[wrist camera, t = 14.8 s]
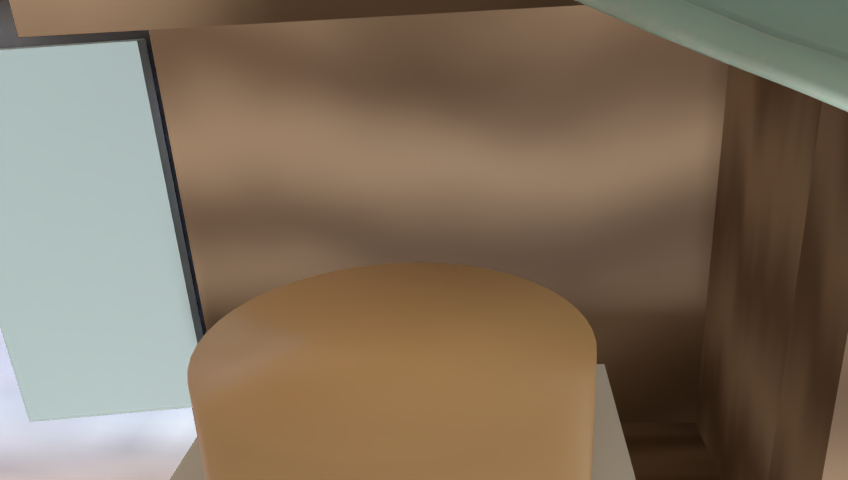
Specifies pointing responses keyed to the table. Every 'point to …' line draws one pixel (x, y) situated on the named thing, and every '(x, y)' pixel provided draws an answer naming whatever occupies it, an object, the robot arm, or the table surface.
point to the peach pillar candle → (398, 380)
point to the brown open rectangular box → (528, 193)
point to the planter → (755, 37)
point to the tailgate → (91, 235)
